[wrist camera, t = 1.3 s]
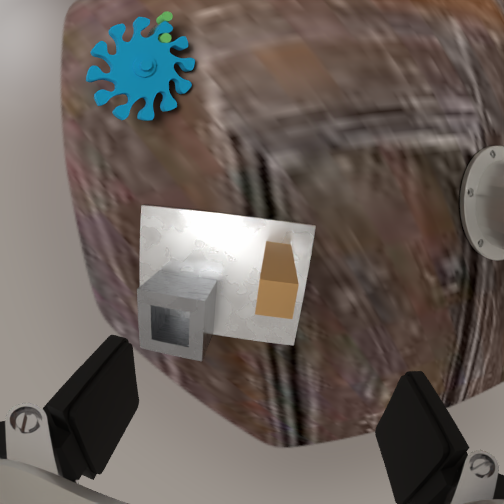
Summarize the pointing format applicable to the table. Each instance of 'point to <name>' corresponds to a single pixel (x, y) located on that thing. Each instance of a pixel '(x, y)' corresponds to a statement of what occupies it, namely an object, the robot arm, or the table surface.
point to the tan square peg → (277, 282)
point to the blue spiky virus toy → (142, 67)
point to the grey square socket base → (211, 278)
